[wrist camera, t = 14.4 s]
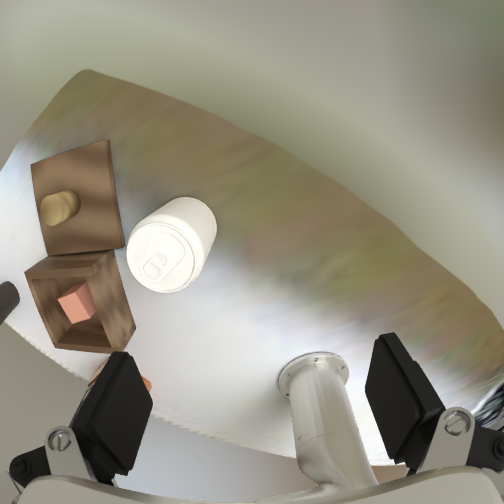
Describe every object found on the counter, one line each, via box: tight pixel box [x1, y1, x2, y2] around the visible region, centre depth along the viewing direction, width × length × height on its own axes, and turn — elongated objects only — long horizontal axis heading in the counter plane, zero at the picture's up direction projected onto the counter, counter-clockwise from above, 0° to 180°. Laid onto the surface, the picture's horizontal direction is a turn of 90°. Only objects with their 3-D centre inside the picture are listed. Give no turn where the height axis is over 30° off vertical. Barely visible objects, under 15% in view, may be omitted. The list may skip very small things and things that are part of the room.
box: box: [24, 249, 136, 354], centre depth 37 cm, size 14×14×7 cm
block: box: [58, 280, 97, 324], centre depth 38 cm, size 4×4×4 cm
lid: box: [31, 140, 125, 256], centre depth 33 cm, size 15×15×7 cm
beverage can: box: [126, 197, 217, 293], centre depth 31 cm, size 8×8×12 cm
